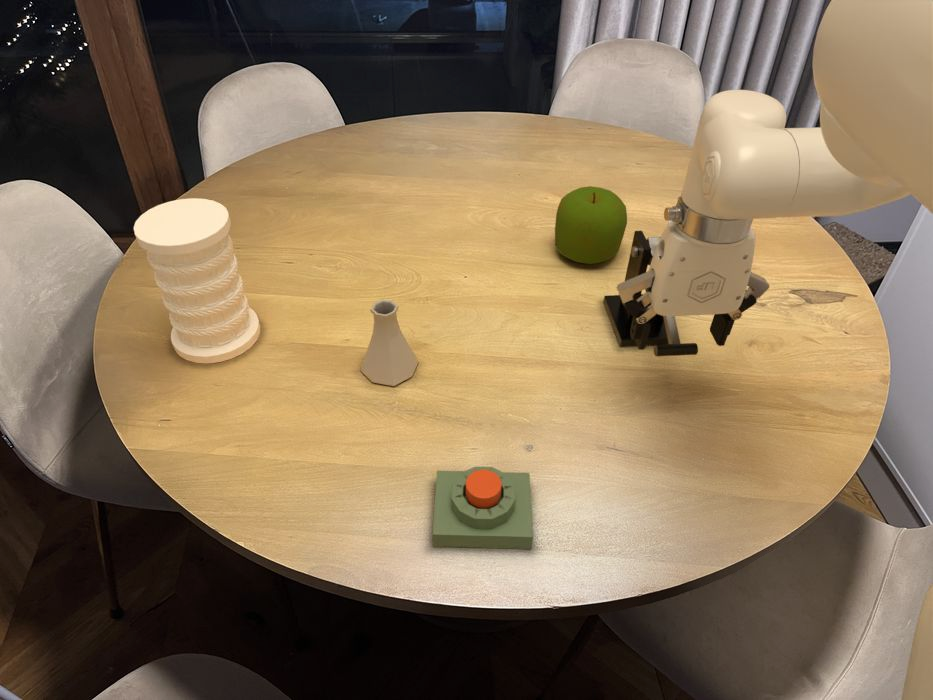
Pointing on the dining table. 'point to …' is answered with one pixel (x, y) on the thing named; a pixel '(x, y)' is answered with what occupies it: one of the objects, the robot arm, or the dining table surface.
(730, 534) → the dining table surface
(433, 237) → the dining table surface
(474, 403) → the dining table surface
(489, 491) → the stop button
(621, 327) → the switch bracket
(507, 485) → the button block
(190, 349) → the decorative container
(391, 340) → the flask
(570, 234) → the apple
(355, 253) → the dining table surface
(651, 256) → the lever
